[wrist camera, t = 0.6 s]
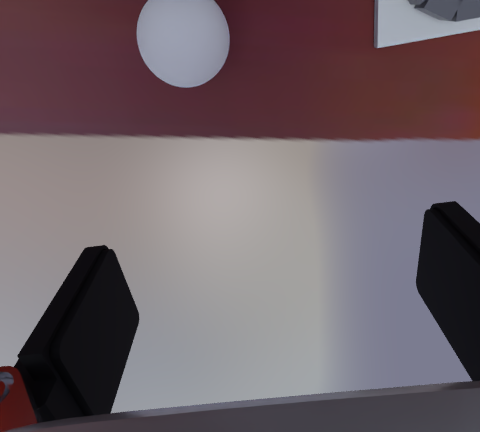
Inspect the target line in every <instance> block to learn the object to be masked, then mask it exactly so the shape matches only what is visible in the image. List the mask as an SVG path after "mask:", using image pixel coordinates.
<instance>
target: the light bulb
mask: <svg viewBox="0 0 480 432" xmlns="http://www.w3.org/2000/svg"><path fill="white" fill-rule="evenodd" d="M137 43H138V47H139V50H140V54H141V56H142V58H143V60H144V62H145V63H146V65H147V66H148V68H149V69H150V70H151V71H152V72H153V73H154V74H155V75H156V76H157V77H158V78H160V79H161V80H162V81H164V82H166V83H168V84H170V85H173V86H177V87H187V88H189V87H195V86H199V85H201V84H204V83H206V82H207V81H209V80H210V79H212V78H213V77H214V76H215V75H216V74H217V73H218V72H219V71H220V69H221V68H222V66H223V65H224V63H225V60H226V58H227V55H228V51H229V44H230V35H229V29H228V24H227V21H226V19H225V16H224V14H223V12H222V11H221V9H220V7H219V6H218V5H217V3H216V2H215V1H214V0H148V1H147V2H146V4H145V5H144V7H143V9H142V11H141V13H140V16H139V19H138V23H137Z"/></svg>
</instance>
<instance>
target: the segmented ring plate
mask: <svg viewBox="0 0 480 432" xmlns="http://www.w3.org/2000/svg"><path fill="white" fill-rule="evenodd" d="M475 30H480V0H375V11H374V47H376V48H381V47H387V46H392V45H398V44H403V43H409V42H414V41H420V40H425V39H431V38H437V37H442V36H448V35H453V34H459V33H464V32H470V31H475Z"/></svg>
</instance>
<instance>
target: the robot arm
mask: <svg viewBox="0 0 480 432" xmlns="http://www.w3.org/2000/svg"><path fill="white" fill-rule="evenodd" d="M416 286H417V289H418V292H419V294H420V295H421V297H422V299H423V301H424V302H425V304H426V305H427V307H428V309H429V310H430V312H431V313H432V315H433V317H434V318H435V320H436V322H437V323H438V325H439V327H440V328H441V330H442V332H443V333H444V335H445V337H446V338H447V340H448V341H449V343H450V345H451V346H452V348H453V350H454V351H455V353H456V355H457V356H458V358H459V359H460V361H461V363H462V364H463V366H464V368H465V369H466V371H467V373H468V374H469V376H470V377H471V379H472V381H470V382H455V383H442V384H429V385H417V386H406V387H394V388H382V389H370V390H359V391H346V392H335V393H323V394H312V395H301V396H289V397H280V398H267V399H256V400H246V401H234V402H225V403H214V404H202V405H192V406H181V407H171V408H160V409H150V410H139V411H130V412H120V413H112V414H110V413H111V409H112V406H113V403H114V400H115V397H116V394H117V390H118V387H119V384H120V381H121V378H122V374H123V371H124V368H125V365H126V362H127V359H128V355H129V352H130V349H131V346H132V343H133V339H134V336H135V333H136V330H137V327H138V323H139V313H138V310H137V307H136V305H135V302H134V300H133V298H132V295H131V292H130V290H129V287H128V285H127V282H126V280H125V278H124V275H123V272H122V270H121V267H120V264H119V262H118V260H117V257H116V254H115V252H114V251H113V250H112V249H108V247H107V246H105V245H102V246H94V247H87V248H85V249H84V250H83V252H82V253H81V255H80V257H79V258H78V260H77V261H76V263H75V265H74V266H73V268H72V270H71V271H70V273H69V274H68V276H67V277H66V279H65V281H64V282H63V284H62V286H61V287H60V289H59V290H58V292H57V293H56V295H55V297H54V298H53V300H52V301H51V303H50V305H49V306H48V308H47V310H46V311H45V313H44V315H43V316H42V317H41V319H40V321H39V322H38V324H37V326H36V327H35V329H34V330H33V332H32V334H31V335H30V337H29V338H28V340H27V341H26V343H25V345H24V346H23V348H22V349H21V351H20V353H19V354H18V358H19V359H18V361H17V363H16V365H15V366H14V367H11V366H2V367H0V432H480V223H479V222H477V221H476V220H475V219H474V218H473V217H472V216H471V215H470V214H469V213H468V212H467V211H466V210H465V209H464V208H462V207H461V206H460V205H459V204H458V203H457V202H455V201H454V202H444V203H436V204H433V205H432V206H431V208H430V209H428V210H426V211H425V214H424V222H423V229H422V237H421V245H420V253H419V261H418V270H417V277H416Z"/></svg>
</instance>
